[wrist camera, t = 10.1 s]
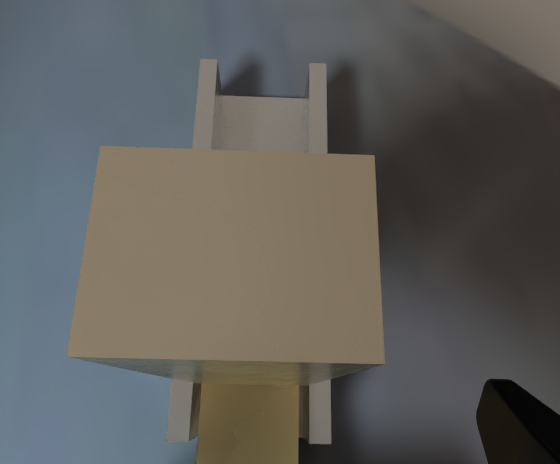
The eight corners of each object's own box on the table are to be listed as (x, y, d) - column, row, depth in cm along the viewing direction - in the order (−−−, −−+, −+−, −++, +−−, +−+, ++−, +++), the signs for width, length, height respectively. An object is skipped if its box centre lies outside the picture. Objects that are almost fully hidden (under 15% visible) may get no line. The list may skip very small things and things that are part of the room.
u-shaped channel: (320, 436, 18) (331, 444, 15) (181, 433, 18) (166, 441, 15) (318, 105, 23) (326, 63, 20) (208, 101, 23) (200, 58, 20)
